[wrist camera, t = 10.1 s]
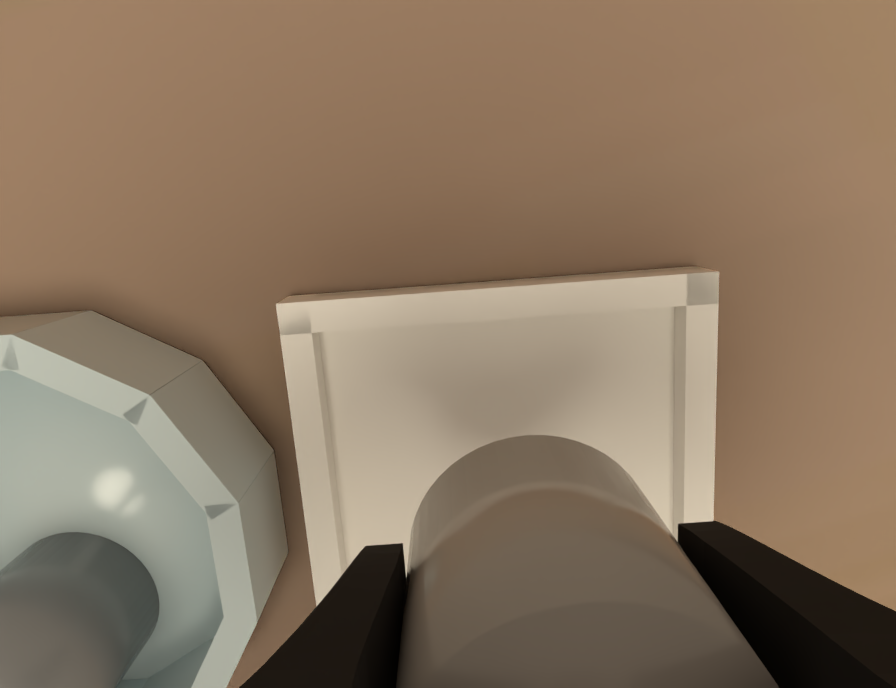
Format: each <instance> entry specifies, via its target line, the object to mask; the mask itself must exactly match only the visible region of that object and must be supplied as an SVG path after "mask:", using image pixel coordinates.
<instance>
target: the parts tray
mask: <svg viewBox="0 0 896 688" xmlns="http://www.w3.org/2000/svg"><path fill="white" fill-rule="evenodd" d="M718 302H719V271H715V270H711V269H707V268H703V267H699V266H690V267H676V268H662V269H649V270H635V271H621V272H608V273H594V274H580V275H567V276H553V277H539V278H526V279H512V280H498V281H485V282H471V283H457V284H444V285H430V286H416V287H403V288H389V289H375V290H362V291H348V292H334V293H321V294H307V295H293V296H288V297H286V298H285V299H283V300H281V301H280V302H278V303H276V309H277V317H278V324H279V331H280V339H281V346H282V354H283V361H284V369H285V376H286V384H287V391H288V398H289V406H290V413H291V421H292V428H293V436H294V443H295V451H296V458H297V465H298V473H299V480H300V488H301V495H302V503H303V510H304V518H305V525H306V532H307V540H308V547H309V555H310V562H311V570H312V577H313V584H314V592H315V599H316V607H317V605H318V604H319V603H320V602H321V601H322V599H323V598H324V597H325V596H326V595H327V593H328V592H329V591H330V590H331V588H332V587H333V586H334V585H335V583H336V582H337V581H338V580H339V578H340V577H341V576H342V574H343V573H344V572H345V571H346V569H347V568H348V567H349V565H350V564H351V563H352V561H353V560H354V559H355V558H356V556H357V555H358V554H359V552H360V551H361V550H362V549H363V548H364V547H365V546H370V545H384V544H398V543H403V550H404V561H405V571H406V575H407V564H408V554H409V544H410V535H411V529H412V525H413V522H414V518H415V515H416V513H417V510H418V508H419V506H420V503H421V501H422V500H423V498H424V496H425V495H426V493H427V491H428V490H429V488H430V487H431V486H432V485H433V483H434V482H435V481H436V480H437V478H438V477H439V476H440V475H441V474H442V473H443V472H444V471H445V470H446V469H448V468H449V467H450V466H451V465H452V464H453V463H455V462H456V461H458V460H459V459H460V458H462V457H463V456H465V455H466V454H468V453H470V452H472V451H474V450H475V449H477V448H479V447H482V446H484V445H487V444H489V443H492V442H494V441H498V440H502V439H506V438H510V437H517V436H524V435H549V436H557V437H563V438H567V439H571V440H575V441H578V442H581V443H583V444H586V445H589V446H591V447H593V448H595V449H597V450H599V451H600V452H602V453H604V454H606V455H607V456H609V457H610V458H611V459H613V460H614V461H615V462H617V463H618V464H619V465H620V466H621V467H622V468H623V469H624V470H625V471H626V472H627V473H628V474H629V475H630V476H631V477H632V479H633V480H634V481H635V482H636V484H637V485H638V486H639V488H640V489H641V491H642V492H643V493H644V495H645V496H646V498H647V499H648V501H649V502H650V503H651V505H652V506H653V508H654V509H655V511H656V512H657V513H658V515H659V516H660V518H661V519H662V521H663V522H664V523H665V525H666V526H667V528H668V529H669V531H670V532H671V533H672V535H673V536H674V538H675V539H676V541H677V542H678V524H680V523H694V522H708V521H713V518H714V475H715V431H716V388H717V345H718Z"/></svg>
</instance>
